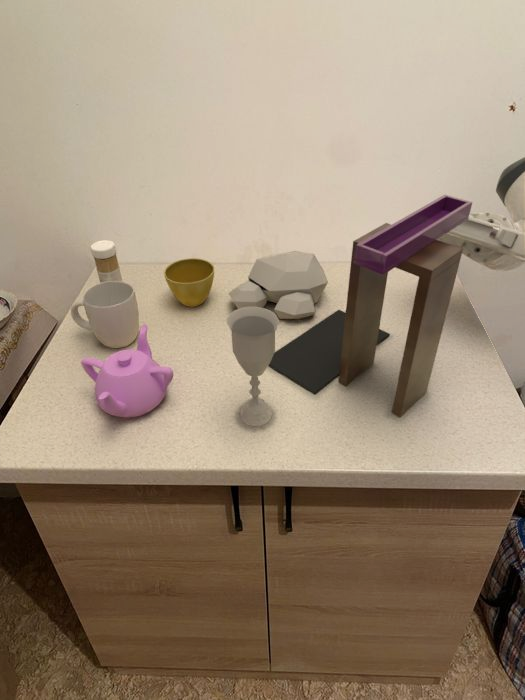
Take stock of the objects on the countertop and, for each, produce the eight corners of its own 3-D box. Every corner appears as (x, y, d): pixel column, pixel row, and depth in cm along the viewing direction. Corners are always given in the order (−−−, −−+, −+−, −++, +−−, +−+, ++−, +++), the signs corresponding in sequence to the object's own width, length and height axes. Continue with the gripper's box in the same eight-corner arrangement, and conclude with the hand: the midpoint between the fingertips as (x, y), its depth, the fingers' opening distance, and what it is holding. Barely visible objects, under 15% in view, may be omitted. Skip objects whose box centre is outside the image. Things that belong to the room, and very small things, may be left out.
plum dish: (440, 211, 76) (444, 194, 74) (468, 219, 73) (472, 202, 72) (353, 263, 64) (355, 244, 62) (383, 275, 61) (386, 256, 60)
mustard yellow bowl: (162, 311, 102) (157, 281, 98) (176, 286, 110) (172, 256, 106) (210, 315, 101) (207, 284, 97) (221, 289, 109) (218, 259, 104)
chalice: (224, 414, 79) (215, 321, 68) (253, 392, 83) (250, 300, 72) (258, 438, 75) (255, 343, 64) (287, 413, 79) (289, 320, 68)
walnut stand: (366, 360, 89) (386, 222, 73) (426, 392, 83) (463, 248, 66) (338, 382, 85) (353, 241, 69) (400, 418, 78) (432, 270, 62)
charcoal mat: (338, 311, 101) (338, 309, 101) (389, 335, 95) (389, 333, 94) (262, 362, 89) (262, 360, 89) (314, 394, 83) (314, 392, 82)
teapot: (153, 362, 90) (145, 322, 84) (184, 410, 80) (177, 368, 75) (87, 386, 85) (74, 344, 80) (111, 439, 76) (98, 397, 70)
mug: (149, 326, 98) (141, 282, 92) (133, 354, 91) (123, 309, 85) (88, 321, 100) (76, 277, 94) (68, 349, 93) (53, 303, 87)
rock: (326, 327, 97) (329, 284, 91) (224, 321, 99) (220, 279, 93) (327, 279, 111) (330, 239, 105) (238, 275, 113) (235, 235, 107)
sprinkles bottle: (121, 294, 108) (108, 237, 99) (131, 303, 105) (118, 245, 96) (101, 302, 105) (86, 244, 97) (111, 311, 103) (96, 252, 94)
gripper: (539, 275, 85) (523, 264, 75) (431, 239, 97) (403, 225, 86) (557, 239, 84) (543, 223, 73) (445, 207, 95) (418, 188, 84)
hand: (466, 223), depth 79 cm, fingers open, 8 cm apart
